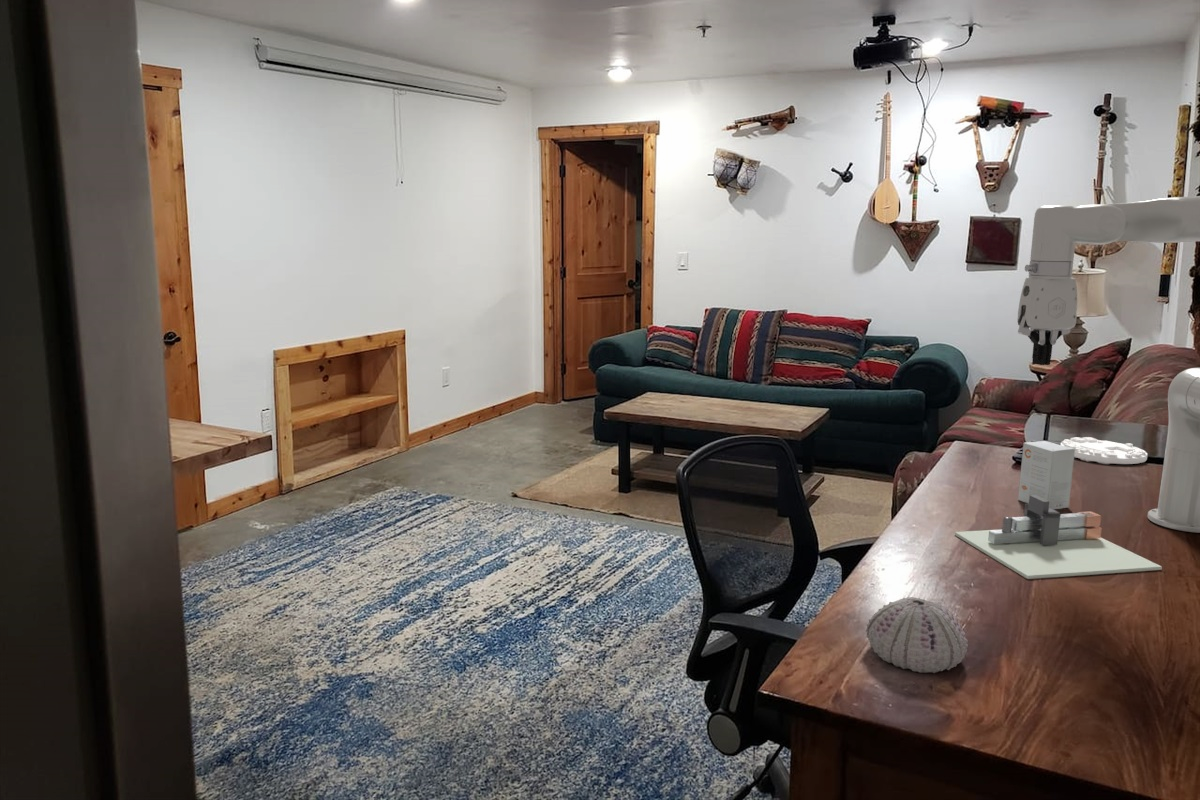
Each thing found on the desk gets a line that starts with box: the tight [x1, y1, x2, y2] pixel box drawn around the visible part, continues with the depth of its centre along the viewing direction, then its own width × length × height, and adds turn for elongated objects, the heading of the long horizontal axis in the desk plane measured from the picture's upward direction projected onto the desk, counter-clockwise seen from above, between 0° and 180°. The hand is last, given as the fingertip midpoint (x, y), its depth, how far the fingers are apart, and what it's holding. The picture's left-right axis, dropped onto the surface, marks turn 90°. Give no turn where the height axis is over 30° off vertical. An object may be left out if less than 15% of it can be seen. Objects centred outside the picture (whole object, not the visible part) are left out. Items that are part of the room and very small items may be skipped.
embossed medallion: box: [1059, 436, 1149, 465], centre depth 233 cm, size 20×20×3 cm
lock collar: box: [1023, 495, 1062, 545], centre depth 166 cm, size 3×6×8 cm, turn 10°
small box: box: [1017, 440, 1075, 510], centre depth 190 cm, size 8×6×13 cm
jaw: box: [1010, 511, 1102, 531], centre depth 167 cm, size 18×3×2 cm, turn 102°
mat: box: [954, 528, 1163, 580], centre depth 163 cm, size 26×22×1 cm
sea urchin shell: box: [865, 596, 969, 674], centre depth 123 cm, size 13×14×8 cm
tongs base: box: [988, 516, 1103, 544], centre depth 167 cm, size 22×3×6 cm, turn 100°
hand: (1040, 363), depth 176 cm, fingers closed
